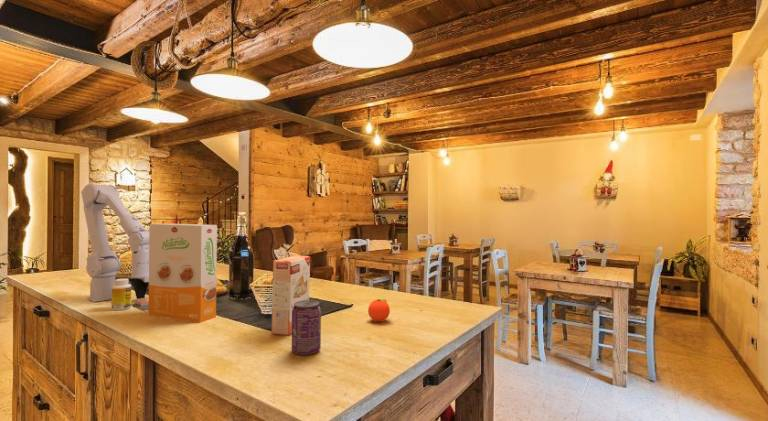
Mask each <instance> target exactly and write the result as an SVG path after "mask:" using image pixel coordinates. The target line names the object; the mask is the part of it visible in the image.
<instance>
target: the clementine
mask: <svg viewBox="0 0 768 421" xmlns="http://www.w3.org/2000/svg"><path fill="white" fill-rule="evenodd" d="M367 312H368V316H369V318H370V319H371V320H373V321H375V322H378V323H381V322H384V321H386V320H387V318H389V315H390V312H391V310H390V306H389V303H388V302H387V299H384V298H378V299H374V300H372V302H370V303H369V305H368V308H367Z"/></svg>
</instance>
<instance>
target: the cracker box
mask: <svg viewBox="0 0 768 421" xmlns="http://www.w3.org/2000/svg"><path fill="white" fill-rule="evenodd" d="M272 262H273V263H272V294H271V295H272V296H271V297H272V298H271V300H272V301H271V302H272V303H271V305H272V306H271V334H272V335H273V334H274V335H282V336H290V335H292V310H293V308H294V303H295V302H298V301H304V300H310V278H311V277H310V276H311V274H310V273H311V256H309V255H291V256H288V257H284V258H280V259H276V260H273V261H272Z"/></svg>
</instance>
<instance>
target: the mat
mask: <svg viewBox="0 0 768 421" xmlns="http://www.w3.org/2000/svg"><path fill="white" fill-rule="evenodd" d="M131 306H133V307H135V308H137V309H138V310H141V311H149V306H143V307H141V306H139V305H137V304H135V303H133V304H132V303H131Z"/></svg>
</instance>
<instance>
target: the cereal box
mask: <svg viewBox="0 0 768 421" xmlns="http://www.w3.org/2000/svg"><path fill="white" fill-rule="evenodd" d="M148 228H149V286H148V297H149V310H148V316H155V317H161V318H168V319H175V320H180V321H187V322H195V323H203V322H206V321H209V320H212V319H215V318H217V274H218V273H217V272H218V271H217V266H218V263H217V262H218V261H217V260H218V257H217V256H218V251H217V250H218V240H217V239H218V225H217V224H199V223H198V224H197V223H196V224H192V223H191V224H189V223H150V224H149V227H148Z"/></svg>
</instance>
